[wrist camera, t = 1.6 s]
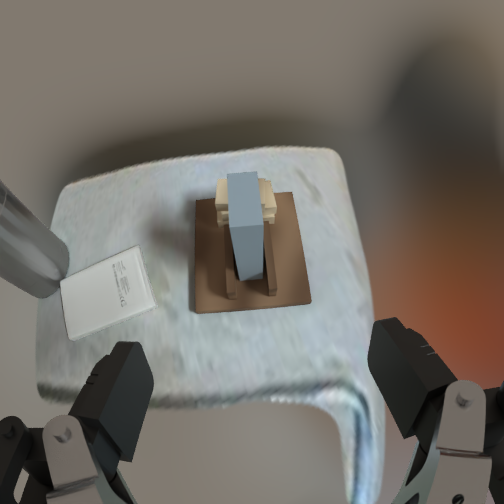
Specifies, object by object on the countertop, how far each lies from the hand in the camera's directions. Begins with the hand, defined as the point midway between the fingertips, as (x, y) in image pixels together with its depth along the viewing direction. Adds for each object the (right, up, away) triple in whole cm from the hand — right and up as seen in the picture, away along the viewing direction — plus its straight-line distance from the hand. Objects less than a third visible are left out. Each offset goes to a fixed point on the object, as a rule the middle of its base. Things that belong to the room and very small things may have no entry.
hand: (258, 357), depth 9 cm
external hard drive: (-18, -2, +22) cm, 28 cm away
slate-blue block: (-1, +3, +22) cm, 22 cm away
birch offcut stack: (-1, +8, +24) cm, 26 cm away
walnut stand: (-1, +4, +23) cm, 24 cm away
